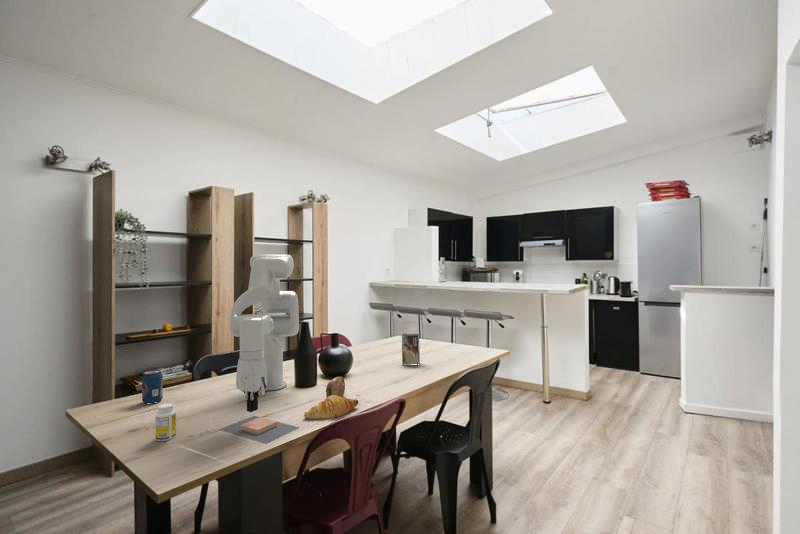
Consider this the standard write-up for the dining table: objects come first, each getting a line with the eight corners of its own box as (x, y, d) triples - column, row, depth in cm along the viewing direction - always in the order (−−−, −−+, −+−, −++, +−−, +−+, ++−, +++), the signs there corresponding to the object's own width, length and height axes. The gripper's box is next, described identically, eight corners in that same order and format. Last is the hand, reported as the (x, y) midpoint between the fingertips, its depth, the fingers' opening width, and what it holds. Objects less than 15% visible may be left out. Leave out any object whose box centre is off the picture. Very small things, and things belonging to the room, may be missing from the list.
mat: (218, 430, 132) (218, 429, 132) (254, 416, 144) (254, 415, 144) (266, 444, 121) (266, 443, 121) (299, 428, 133) (299, 427, 133)
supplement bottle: (172, 433, 130) (171, 401, 130) (179, 437, 126) (179, 404, 126) (152, 438, 125) (152, 405, 125) (159, 443, 122) (159, 409, 122)
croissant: (308, 433, 137) (312, 415, 134) (297, 412, 144) (300, 395, 141) (361, 417, 150) (366, 401, 147) (349, 398, 157) (353, 382, 154)
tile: (240, 425, 131) (257, 430, 127) (260, 417, 138) (277, 421, 134) (240, 430, 131) (257, 435, 127) (260, 421, 138) (277, 426, 134)
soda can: (139, 402, 160) (139, 371, 160) (159, 398, 165) (159, 368, 165) (145, 406, 155) (145, 375, 155) (165, 401, 160) (165, 371, 160)
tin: (332, 406, 153) (332, 384, 153) (324, 406, 154) (324, 384, 154) (345, 394, 168) (345, 374, 168) (338, 394, 169) (338, 373, 169)
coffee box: (420, 363, 221) (420, 333, 221) (418, 365, 215) (418, 335, 215) (403, 362, 223) (403, 333, 223) (401, 365, 216) (401, 335, 216)
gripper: (227, 354, 134) (227, 410, 134) (258, 359, 127) (259, 418, 127) (246, 350, 141) (246, 403, 141) (276, 355, 133) (277, 410, 133)
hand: (252, 410), depth 134 cm, fingers closed
